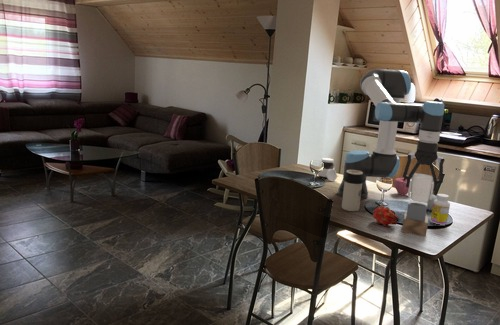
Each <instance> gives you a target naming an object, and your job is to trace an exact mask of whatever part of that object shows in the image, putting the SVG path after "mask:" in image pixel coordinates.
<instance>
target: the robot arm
mask: <svg viewBox="0 0 500 325" xmlns="http://www.w3.org/2000/svg"><path fill="white" fill-rule="evenodd" d="M359 84H360V85H359V86H360V87H359V88H360V89H361V91H362V92H363V93H364V95H366V96H368V97H369V99H370V100H371V102H372V103H373V104H374V106H375V109H374V115H375V119H376V120H377V121H379V126H378V134H377V142H376V147H375V148H374V149H373V150H372V153H371V152H370V151H368V150H362V149H361V150H359V149H357V150H351V151H348V152H347V153H346V155H345V158H344V166H343V175H342V181H341V183H340V185H339V187H338V189H337V190H338V191H337V194H338V195H339V196H340V197H342V198H343V191H344V182H345V177H346V175H347V172H346V171H347V170H358V171H361V172H363V174H362V179H363V182H362V190H361V198H360V200H365V199H367V198H368V197H369V196H368V195H369V191H368V187H367V186H368V185H367V177H370V178H371V177H372V178H384V179H386V178H387V179H389V178H394V177H395V176H396V175H397V174H398V172H399V169H400V165H401V162H400V161H401V159H400V157H399V156H398V155H397V151H396V150H395V145H396V138H397V137H396V136H397V131H398V123H409V124H410V123H411V124H420V126H419V131H418V132H419V133H418V141H417V146H416V150H415V152H414V153H408V154H407V161H406V164H405V168H404V170H403V174H402V178H405V179H407V183H406V187H407V188H409V190H408V194H407V197H411V185H412V176H413V174H416V171H417V170H418V168H419V167H420V165H421V166H422V165H424V166H429V168H430V171H431V176H432V177H433V183H432V187H431V192H430V197H429V199H430V200H432V194H433V195H434V193H435V192H436V191H437V187H438V185H439V184H443V182H444V162H445V158H444V157H440V156H438V148H439V143H438V142H440V137H441V136H440V135H441V131H442V130H441V129H442V124H443V120H444V119H443V118H444V114H445V103H444V102H441V101H429V100H427V101H425V102H424V103H423V104H422V103H401V102H402V101H403V100H405V98H406V96H407V95H408V94H410V91H411V88H412V80H411V76H410V74H409V72H407V71H405V70H401V69H385V68H383V69H382V68H374V69H370V70H368V71H367V72H365V73H364V74H363V76H362V77H361V78H360V81H359ZM414 158H415V159H416V160H417V161H416V162H415V164H414V166H413V167H412V169H411V171H410V172H409V169H410V166H411V162H412V160H413V159H414ZM436 161H437V162H438V179H437V175H436V171H435V168H434V164H433V163H434V162H436ZM408 172H409V173H408Z"/></svg>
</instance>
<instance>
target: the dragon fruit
mask: <svg viewBox="0 0 500 325" xmlns="http://www.w3.org/2000/svg"><path fill="white" fill-rule="evenodd" d="M372 213H373V214H371V216H372V218H373V219H375V220H376V223H377V225H380V224H381V225H383V226H384V227H387V228H392V226H391V225H397V224H398V223H397V222H400V218H399V216H398V215H396V212H395V211H394V210H391V208H390V207H388V206H385V205H380V206H379V205H378V206H377V207H376V208H375V209H373V212H372Z"/></svg>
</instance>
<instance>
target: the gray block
mask: <svg viewBox="0 0 500 325" xmlns="http://www.w3.org/2000/svg"><path fill="white" fill-rule="evenodd" d="M427 204H428V203H425V202H417V201H414V200H412V199H409V200H408V204H407V209H406V210H407V211H406V213H407V216H406V218H407V219H413V220H418V221H423V222H425V216H427V210H428V209H427Z"/></svg>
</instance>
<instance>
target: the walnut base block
mask: <svg viewBox="0 0 500 325" xmlns="http://www.w3.org/2000/svg"><path fill="white" fill-rule="evenodd" d="M406 216H407V211H405V212H404V215H403V222H402V229H401V232H402V233H403V234H411V235H414V236H420V237H427V232H428V226H429V225H428V224H429V217H428V215H426V216H425V222H423V221H418V220H413V219H407V218H406Z"/></svg>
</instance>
